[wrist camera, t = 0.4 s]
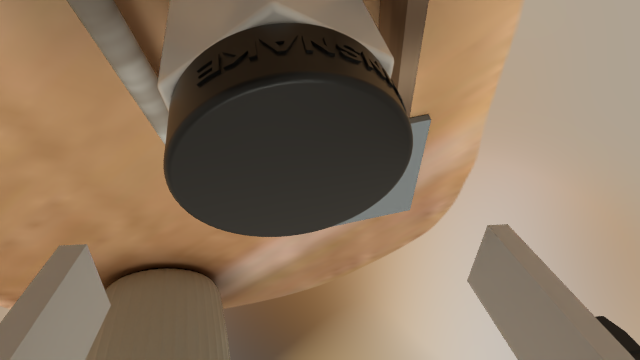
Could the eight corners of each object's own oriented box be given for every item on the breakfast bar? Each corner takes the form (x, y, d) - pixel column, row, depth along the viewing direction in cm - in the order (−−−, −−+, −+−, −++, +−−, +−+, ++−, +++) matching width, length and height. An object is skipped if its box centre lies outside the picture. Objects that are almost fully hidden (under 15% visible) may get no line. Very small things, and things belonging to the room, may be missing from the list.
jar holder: (9, -149, 13) (-37, -118, 10) (416, -217, 13) (461, -202, 11) (174, 125, 24) (170, 169, 21) (389, 82, 24) (408, 121, 22)
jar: (373, -33, 18) (477, 126, 11) (301, 86, 23) (341, 246, 16) (198, -141, 14) (186, 9, 7) (158, 36, 19) (127, 226, 12)
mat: (257, 149, 27) (257, 154, 27) (428, 114, 28) (431, 119, 27) (286, 231, 39) (287, 236, 38) (408, 205, 39) (409, 209, 39)
